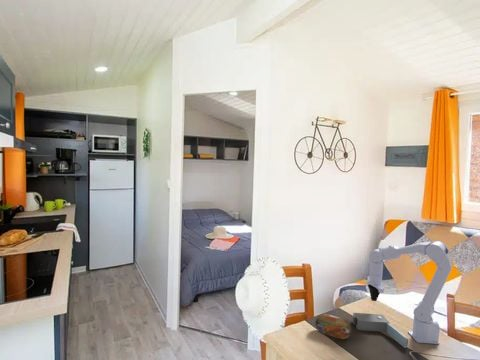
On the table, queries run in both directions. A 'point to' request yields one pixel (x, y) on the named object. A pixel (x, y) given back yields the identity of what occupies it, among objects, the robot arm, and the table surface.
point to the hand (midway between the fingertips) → (373, 300)
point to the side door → (397, 335)
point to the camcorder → (370, 322)
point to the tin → (333, 326)
